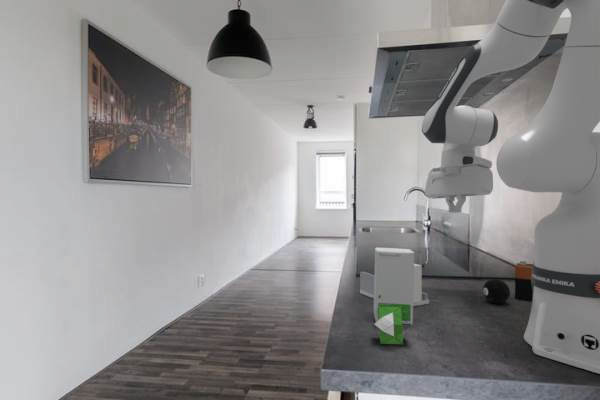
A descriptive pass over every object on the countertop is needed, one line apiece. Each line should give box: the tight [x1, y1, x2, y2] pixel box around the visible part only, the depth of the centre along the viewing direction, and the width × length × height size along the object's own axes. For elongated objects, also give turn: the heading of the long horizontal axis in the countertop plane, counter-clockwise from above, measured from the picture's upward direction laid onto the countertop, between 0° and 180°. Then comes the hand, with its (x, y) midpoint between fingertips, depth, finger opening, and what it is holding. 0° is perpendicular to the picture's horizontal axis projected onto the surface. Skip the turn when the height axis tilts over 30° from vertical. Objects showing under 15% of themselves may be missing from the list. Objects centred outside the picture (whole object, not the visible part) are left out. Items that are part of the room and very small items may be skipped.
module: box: [413, 263, 423, 302], centre depth 93 cm, size 4×6×10 cm, turn 115°
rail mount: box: [359, 271, 430, 307], centre depth 99 cm, size 16×10×6 cm, turn 26°
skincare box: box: [373, 247, 415, 325], centre depth 82 cm, size 8×7×16 cm
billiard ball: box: [482, 278, 511, 304], centre depth 94 cm, size 6×6×6 cm
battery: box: [514, 260, 534, 302], centre depth 97 cm, size 4×7×10 cm, turn 53°
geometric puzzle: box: [371, 306, 412, 346], centre depth 69 cm, size 7×7×8 cm
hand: (454, 212), depth 103 cm, fingers closed
